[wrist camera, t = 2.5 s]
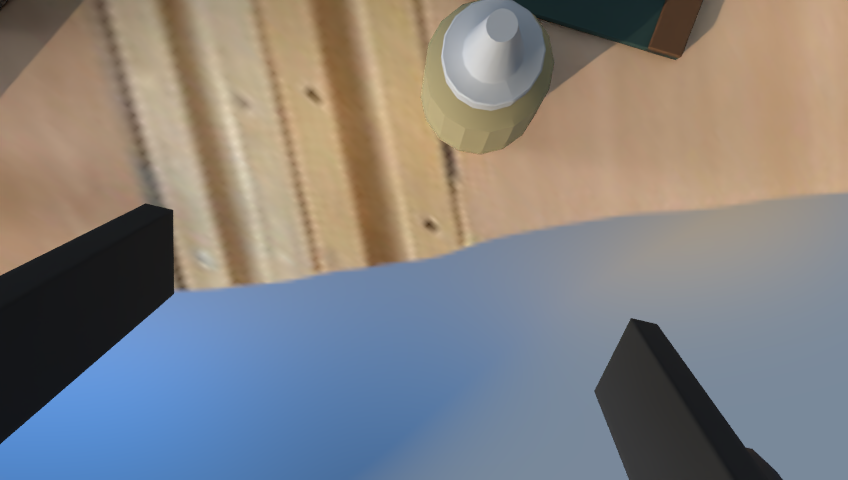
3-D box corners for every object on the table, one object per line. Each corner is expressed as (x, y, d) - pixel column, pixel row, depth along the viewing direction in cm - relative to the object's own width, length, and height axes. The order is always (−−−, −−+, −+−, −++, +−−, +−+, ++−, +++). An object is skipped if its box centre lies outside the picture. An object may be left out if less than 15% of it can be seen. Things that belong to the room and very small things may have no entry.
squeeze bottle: (421, 50, 33) (385, -88, 16) (529, 43, 33) (619, -108, 15) (426, 158, 35) (397, 143, 17) (530, 153, 34) (613, 134, 16)
